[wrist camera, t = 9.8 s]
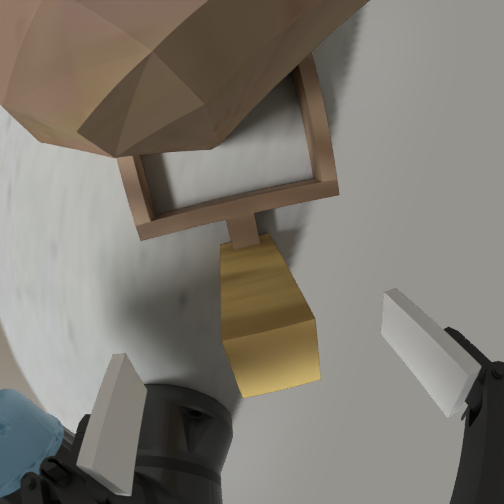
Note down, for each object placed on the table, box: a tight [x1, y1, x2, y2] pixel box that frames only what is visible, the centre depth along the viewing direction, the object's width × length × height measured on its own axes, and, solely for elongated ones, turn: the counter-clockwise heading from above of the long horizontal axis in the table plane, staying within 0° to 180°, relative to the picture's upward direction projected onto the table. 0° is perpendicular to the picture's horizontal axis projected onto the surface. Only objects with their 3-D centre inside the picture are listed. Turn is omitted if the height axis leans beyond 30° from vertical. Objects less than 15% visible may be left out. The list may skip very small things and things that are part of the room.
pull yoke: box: [117, 53, 339, 398], centre depth 13 cm, size 26×15×12 cm, turn 12°
